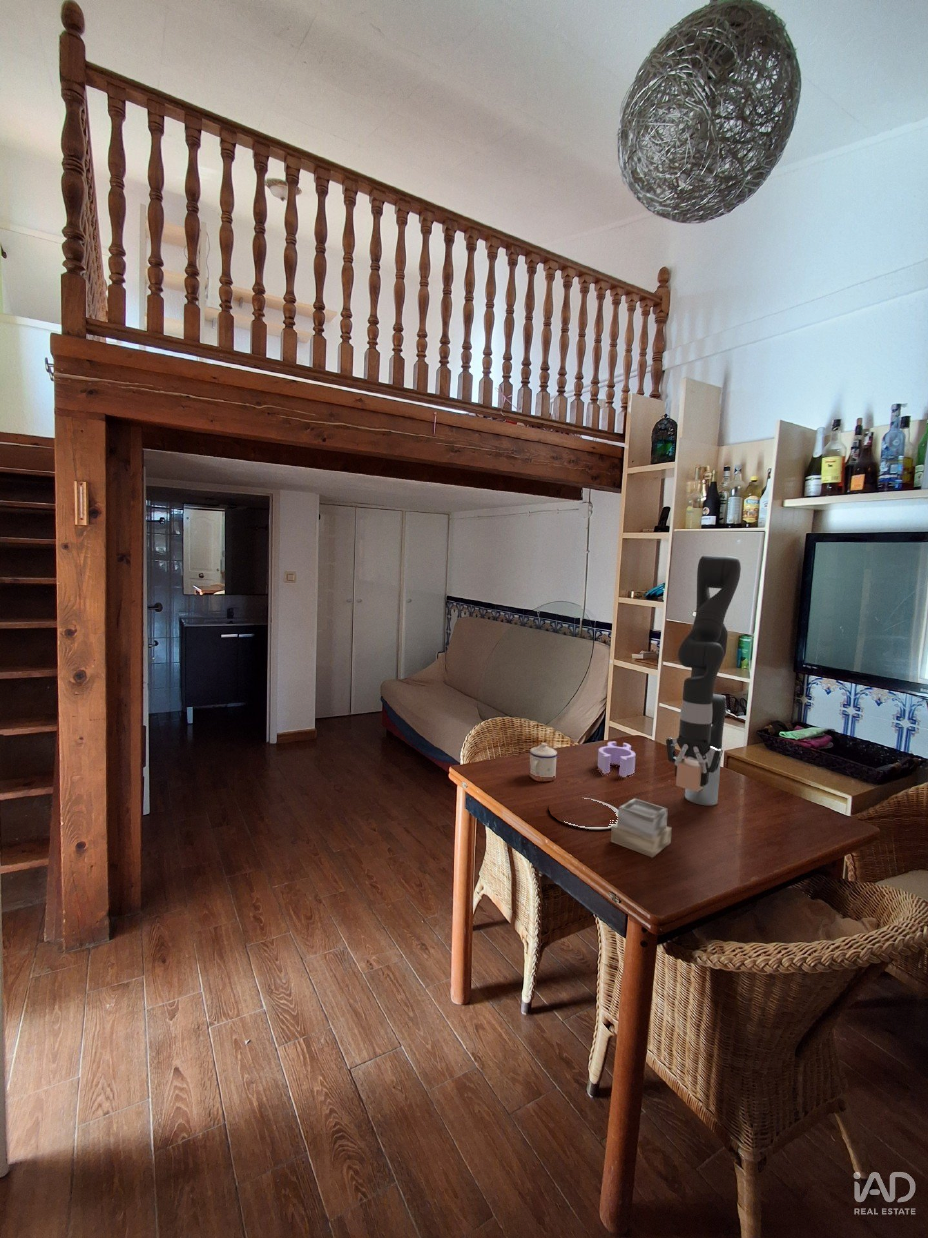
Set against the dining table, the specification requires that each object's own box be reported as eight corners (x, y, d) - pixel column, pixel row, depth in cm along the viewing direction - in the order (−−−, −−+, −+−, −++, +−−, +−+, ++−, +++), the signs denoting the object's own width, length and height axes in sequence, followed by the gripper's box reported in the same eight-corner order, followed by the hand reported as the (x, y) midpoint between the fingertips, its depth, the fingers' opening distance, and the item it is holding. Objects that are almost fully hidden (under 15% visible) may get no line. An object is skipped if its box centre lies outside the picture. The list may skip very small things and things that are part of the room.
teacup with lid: (535, 771, 191) (537, 737, 190) (560, 777, 186) (562, 743, 185) (519, 781, 181) (521, 746, 180) (544, 788, 176) (547, 751, 175)
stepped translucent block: (630, 828, 150) (632, 795, 149) (670, 843, 142) (673, 808, 142) (610, 841, 142) (613, 807, 141) (652, 857, 134) (655, 821, 134)
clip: (601, 757, 209) (602, 739, 209) (636, 763, 205) (637, 744, 204) (594, 774, 190) (596, 755, 190) (632, 781, 186) (634, 760, 186)
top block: (684, 780, 148) (685, 758, 147) (705, 786, 144) (707, 763, 144) (675, 785, 144) (677, 763, 143) (697, 791, 140) (699, 768, 140)
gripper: (730, 722, 140) (724, 787, 142) (673, 710, 150) (669, 771, 152) (720, 727, 135) (714, 795, 136) (662, 715, 145) (657, 778, 146)
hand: (690, 782), depth 144 cm, fingers closed on top block, 5 cm apart
